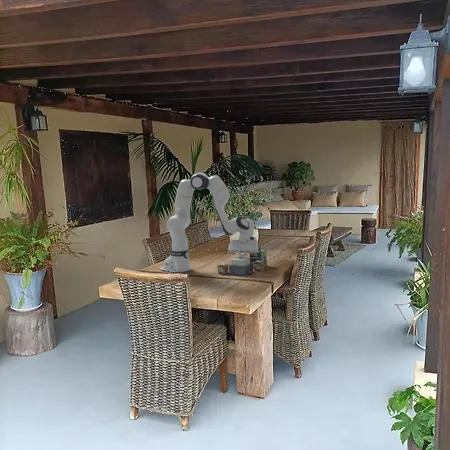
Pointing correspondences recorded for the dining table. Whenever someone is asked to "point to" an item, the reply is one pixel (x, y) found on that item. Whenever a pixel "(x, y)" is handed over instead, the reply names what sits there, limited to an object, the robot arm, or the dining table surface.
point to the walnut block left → (223, 269)
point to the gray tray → (241, 269)
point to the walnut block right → (258, 265)
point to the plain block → (240, 261)
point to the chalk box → (258, 257)
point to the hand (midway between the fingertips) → (241, 257)
